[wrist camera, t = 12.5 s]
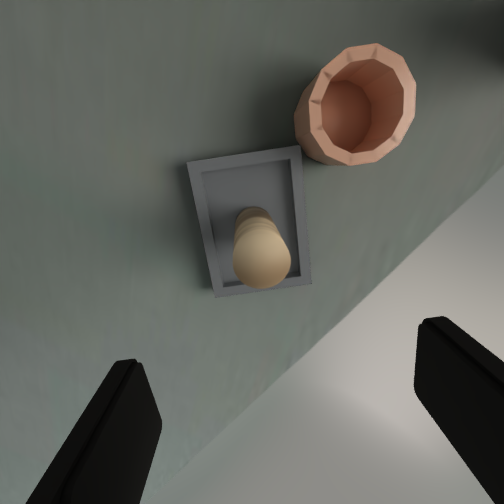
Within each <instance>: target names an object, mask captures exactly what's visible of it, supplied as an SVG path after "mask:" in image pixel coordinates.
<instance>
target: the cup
mask: <svg viewBox="0 0 504 504" xmlns="http://www.w3.org/2000/svg"><path fill="white" fill-rule="evenodd" d="M415 99H416V83H415V81H414V79H413V77H412V75H411V72H410V70H409V68H408V66H407V64H406V62H405V60H404V58H403V57H402V56H400V55H398V54H397V53H395V52H393V51H391V50H389V49H387V48H385V47H383V46H382V45H380V44H378V43H374V44H368V45H362V46H355V47H349V48H346V49H345V50H344V51H342V52H341V53H340V54H339V55H338V56H337V57H335V58H334V59H333V60H332V61H331V62H330V63H328V64H327V65H326V66H325V67H324V68H323V69H322V70H321V71H320V72H319V73H318V74H317V75H316V77H315V78H314V79H313V80H312V81H311V83H310V84H309V85H308V86H307V87H306V88H305V90H304V91H303V93H302V95H301V98H300V100H299V103H298V105H297V108H296V110H295V112H294V126H295V138H296V140H297V141H298V143H299V144H300V145H301V147H302V149H303V150H304V152H305V153H306V155H307V156H308V157H310V158H312V159H314V160H316V161H319V162H321V163H323V164H325V165H344V166H351V165H358V164H364V163H371V162H376V161H378V160H379V159H380V158H382V157H383V156H384V155H386V154H387V153H388V152H390V151H391V150H392V149H394V148H395V147H396V146H398V145H399V144H400V143H401V141H402V139H403V137H404V135H405V133H406V131H407V129H408V128H409V126H410V124H411V122H412V120H413V118H414V116H415Z"/></svg>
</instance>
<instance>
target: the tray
mask: <svg viewBox="0 0 504 504" xmlns="http://www.w3.org/2000/svg"><path fill="white" fill-rule="evenodd" d="M186 163H187V167H188V172H189V177H190V182H191V186H192V191H193V196H194V200H195V205H196V210H197V215H198V219H199V224H200V229H201V234H202V238H203V243H204V248H205V253H206V257H207V262H208V267H209V271H210V276H211V281H212V286H213V290H214V295H215V298H217V297H224V296H231V295H238V294H244V293H251V292H258V291H265V290H272V289H279V288H286V287H293V286H300V285H307V284H312V282H311V269H310V256H309V243H308V230H307V218H306V205H305V192H304V179H303V167H302V154H301V145H296V146H290V147H283V148H276V149H270V150H263V151H257V152H250V153H243V154H237V155H230V156H224V157H217V158H211V159H204V160H197V161H191V162H186ZM253 206H255V207H260V208H263V209H264V210H266V211H267V212H268V213H269V215H270V216H271V218H272V220H273V222H274V224H275V226H276V228H277V230H278V231H279V233H280V235H281V237H282V239H283V241H284V243H285V245H286V247H287V248H288V250H289V253H290V257H291V264H290V269H289V271H288V273H287V275H286V277H285V278H284V279H283V280H282V281H281V282H280V283H278V284H277V285H275V286H273V287H270V288H265V289H257V288H252V287H249V286H247V285H245V284H244V283H242V282H241V281H240V280H239V279H238V277H237V276H236V274H235V272H234V269H233V248H234V234H235V222H236V218H237V216H238V215H239V213H240V212H241V211H242V210H244V209H246V208H248V207H253Z"/></svg>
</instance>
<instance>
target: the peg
mask: <svg viewBox="0 0 504 504" xmlns="http://www.w3.org/2000/svg"><path fill="white" fill-rule="evenodd" d="M290 264H291V257H290V253H289V250H288V248H287V247H286V245H285V243H284V241H283V239H282V237H281V235H280V233H279V231H278V230H277V228H276V226H275V224H274V222H273V220H272V218H271V216H270V215H269V213H268V212H267V211H266V210H264V209H263V208H260V207H255V206H253V207H248V208H246V209H244V210H242V211H241V212H240V213H239V215H238V216H237V218H236V222H235V234H234V248H233V269H234V272H235V274H236V276H237V277H238V279H239V280H240V281H241V282H242V283H244V284H245V285H247V286H249V287H252V288H257V289H265V288H270V287H273V286H275V285H277V284H278V283H280V282H281V281H282V280H283V279H284V278H285V277H286V275H287V273H288V271H289V269H290Z"/></svg>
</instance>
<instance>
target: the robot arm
mask: <svg viewBox="0 0 504 504" xmlns="http://www.w3.org/2000/svg"><path fill="white" fill-rule="evenodd" d="M414 390H415V393H416V395H417V397H418V399H419V400H420V401H421V403H422V404H423V406H424V407H425V408H426V410H427V411H428V412H429V414H430V415H431V417H432V418H433V419H434V421H435V422H436V423H437V425H438V426H439V427H440V429H441V430H442V432H443V433H444V434H445V436H446V437H447V438H448V440H449V441H450V443H451V444H452V445H453V447H454V448H455V450H456V451H457V452H458V454H459V455H460V456H461V458H462V459H463V461H464V462H465V463H466V464H467V466H468V467H469V469H470V470H471V472H472V473H473V474H474V476H475V477H476V478H477V480H478V481H479V483H480V484H481V485H482V487H483V488H484V489H485V491H486V492H487V494H488V495H489V496H490V498H491V499H492V501H493V502H494V503H495V504H504V362H503V361H502V360H500V359H499V358H498V357H497V356H495V355H494V354H493V353H492V352H490V351H489V350H487V349H486V348H485V347H484V346H482V345H481V344H480V343H479V342H477V341H476V340H475V339H474V338H472V337H471V336H470V335H469V334H467V333H466V332H465V331H463V330H462V329H461V328H460V327H458V326H457V325H456V324H454V323H453V322H452V321H451V320H449V319H448V318H447V317H444V316H440V317H433V318H426V319H424V320H423V322H422V324H420V325H419V326H418V337H417V349H416V362H415V376H414ZM161 430H162V419H161V416H160V413H159V411H158V408H157V405H156V402H155V399H154V396H153V393H152V391H151V388H150V385H149V382H148V379H147V376H146V374H145V371H144V368H143V365H142V363H140V362H139V363H138V362H137V360H136V359H128V360H120V361H116V362H115V363H114V364H113V366H112V368H111V369H110V371H109V372H108V374H107V375H106V377H105V379H104V380H103V382H102V383H101V385H100V386H99V388H98V390H97V391H96V393H95V394H94V396H93V398H92V399H91V401H90V402H89V404H88V405H87V407H86V409H85V410H84V412H83V413H82V415H81V417H80V418H79V420H78V421H77V423H76V424H75V426H74V428H73V429H72V431H71V432H70V434H69V436H68V437H67V439H66V440H65V442H64V443H63V445H62V447H61V448H60V450H59V451H58V453H57V455H56V456H55V458H54V459H53V461H52V462H51V464H50V466H49V467H48V469H47V470H46V472H45V473H44V475H43V477H42V478H41V480H40V481H39V483H38V485H37V486H36V488H35V489H34V491H33V492H32V494H31V496H30V497H29V499H28V500H27V502H26V504H139V503H140V500H141V497H142V494H143V490H144V487H145V484H146V480H147V477H148V474H149V470H150V467H151V464H152V460H153V457H154V454H155V450H156V447H157V444H158V441H159V437H160V434H161Z"/></svg>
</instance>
